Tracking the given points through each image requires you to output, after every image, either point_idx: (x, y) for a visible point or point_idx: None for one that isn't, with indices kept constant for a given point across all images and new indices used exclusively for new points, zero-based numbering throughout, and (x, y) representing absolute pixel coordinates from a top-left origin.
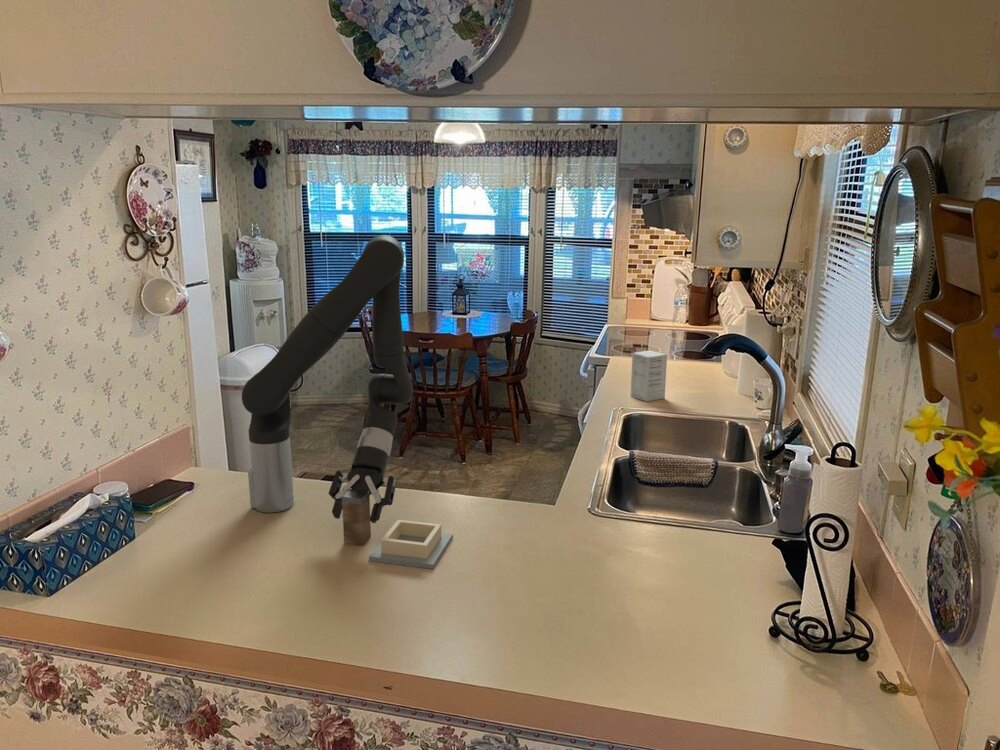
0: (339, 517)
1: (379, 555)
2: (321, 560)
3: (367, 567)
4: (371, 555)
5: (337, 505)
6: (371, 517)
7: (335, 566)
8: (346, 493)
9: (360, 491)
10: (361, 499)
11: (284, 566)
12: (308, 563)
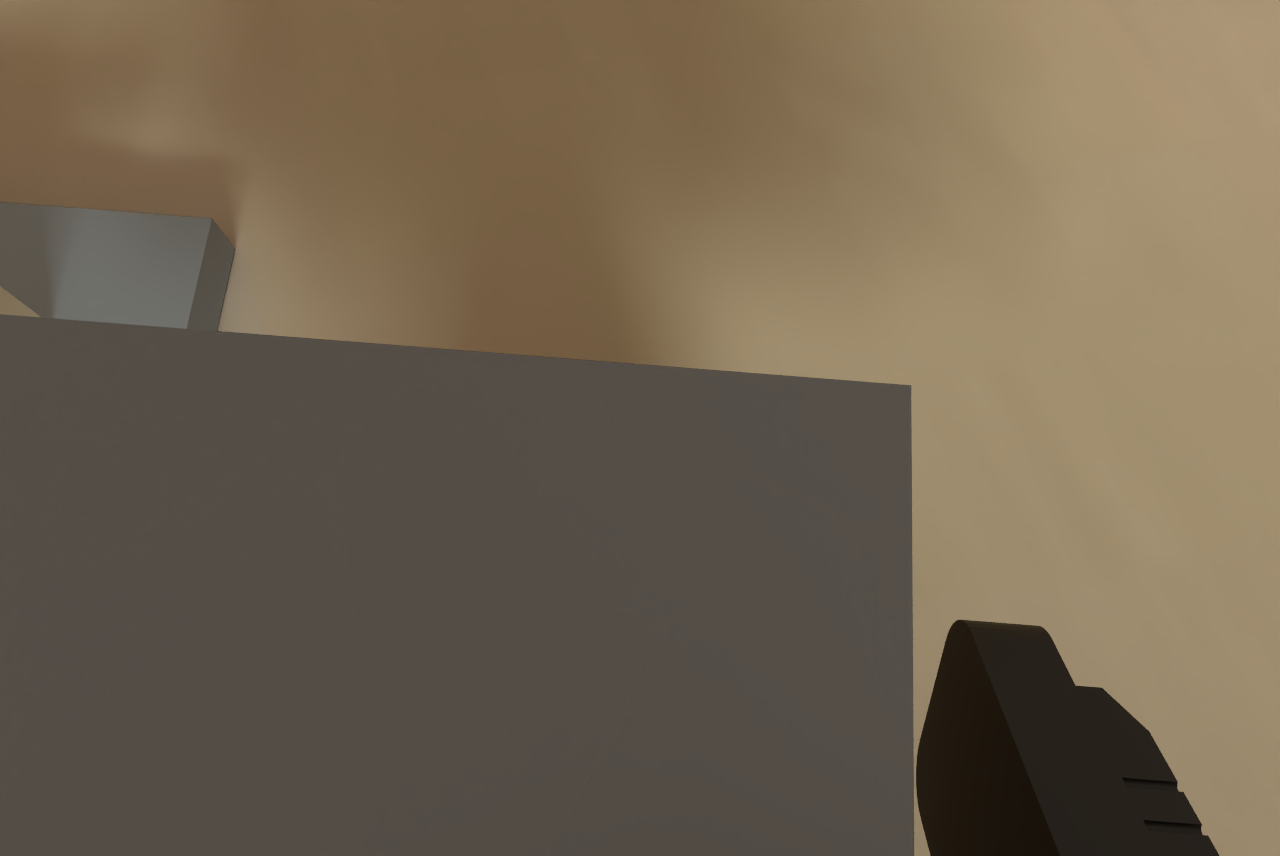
0: (922, 796)
1: (69, 261)
2: (815, 181)
3: (220, 115)
4: (179, 248)
5: (1084, 805)
6: None
7: (597, 86)
8: (864, 827)
9: None
10: None
11: (1153, 13)
12: (930, 102)
